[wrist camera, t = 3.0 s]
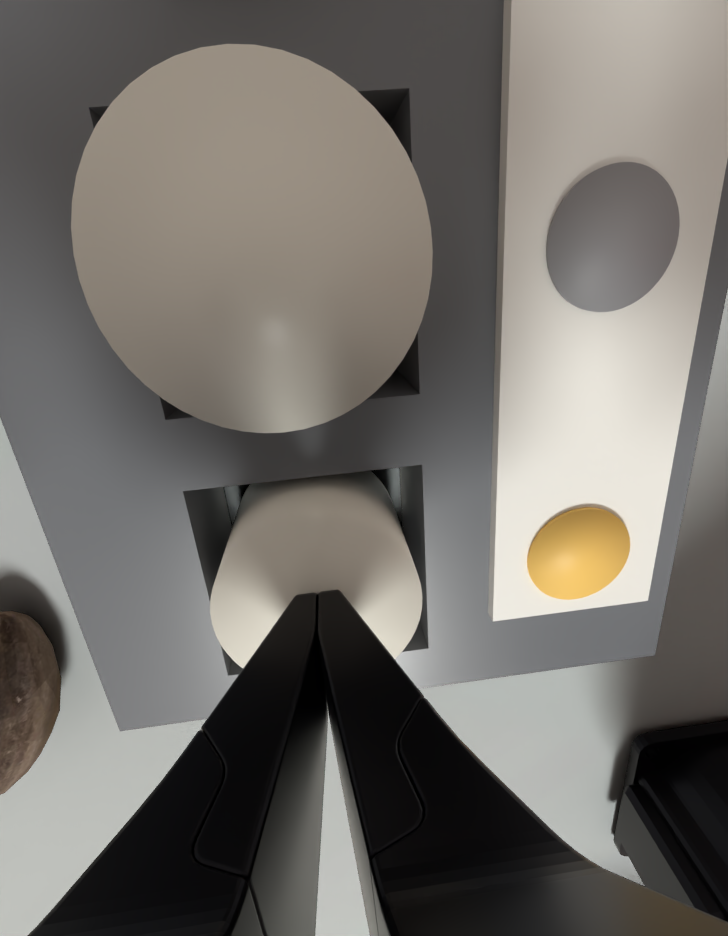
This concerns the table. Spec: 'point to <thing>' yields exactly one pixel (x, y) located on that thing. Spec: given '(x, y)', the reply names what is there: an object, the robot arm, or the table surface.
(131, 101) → the button middle
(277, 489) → the button
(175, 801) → the robot arm
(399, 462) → the button panel
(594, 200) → the pattern card
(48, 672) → the brown mug
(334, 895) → the table surface
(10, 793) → the table surface
